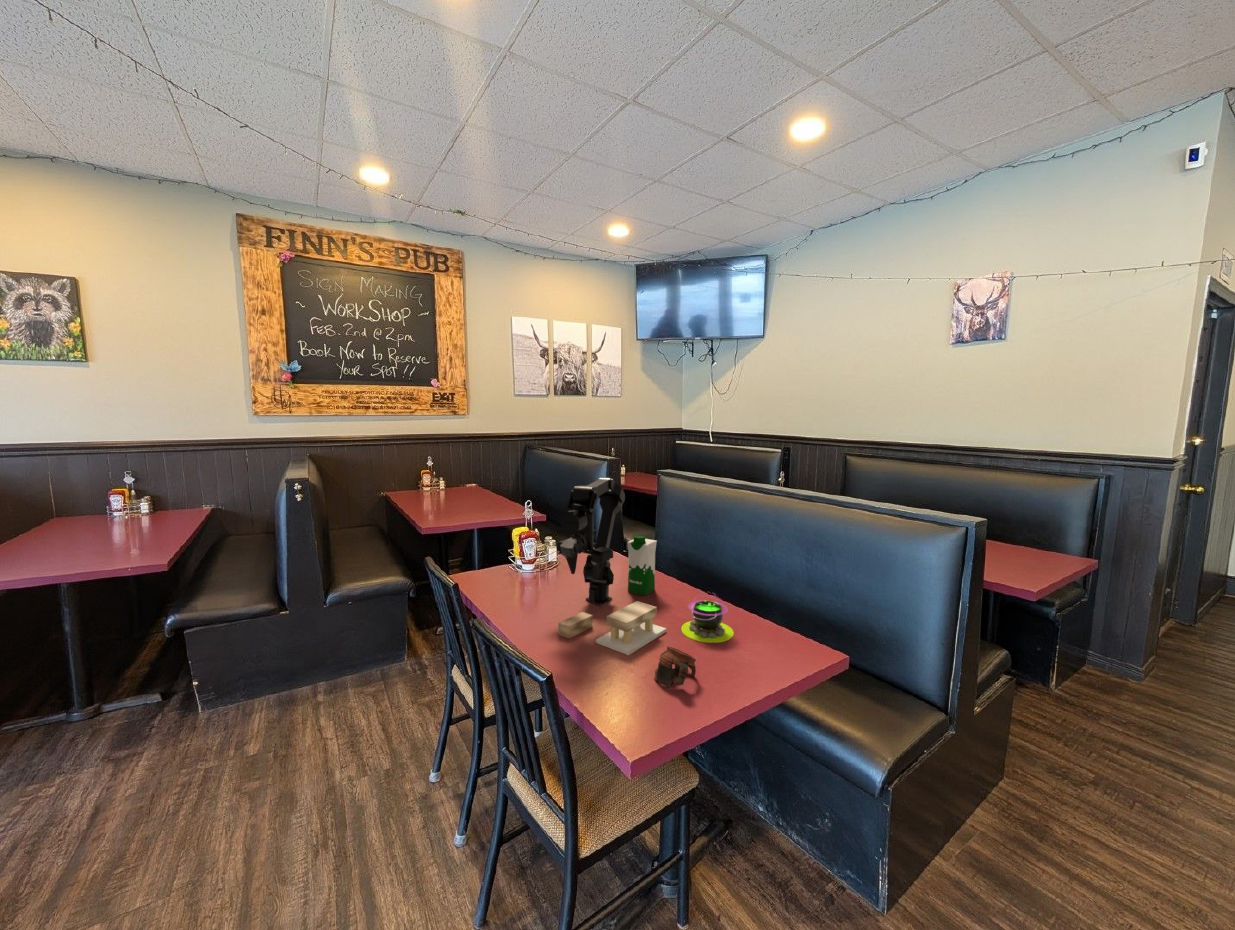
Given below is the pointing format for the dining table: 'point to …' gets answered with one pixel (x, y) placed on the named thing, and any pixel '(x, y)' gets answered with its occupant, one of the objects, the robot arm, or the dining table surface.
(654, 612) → the board
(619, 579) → the dining table surface
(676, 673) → the pottery mug
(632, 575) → the milk carton
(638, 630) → the peg frame
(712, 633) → the toy cauldron
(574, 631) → the block
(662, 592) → the dining table surface
